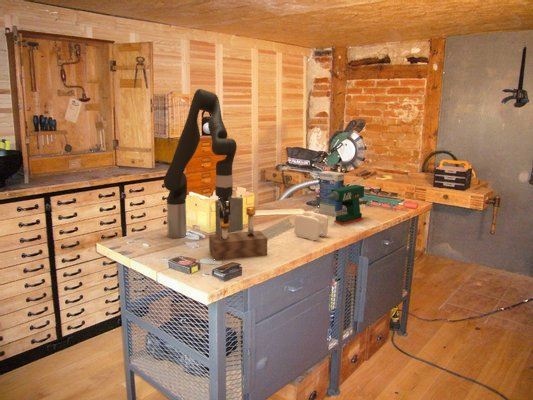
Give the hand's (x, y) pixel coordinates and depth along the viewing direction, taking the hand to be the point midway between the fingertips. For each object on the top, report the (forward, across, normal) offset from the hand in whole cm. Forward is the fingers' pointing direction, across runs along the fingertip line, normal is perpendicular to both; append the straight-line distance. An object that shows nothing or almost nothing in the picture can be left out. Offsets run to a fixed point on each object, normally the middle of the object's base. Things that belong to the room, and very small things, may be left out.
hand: (223, 220), depth 194 cm
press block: (+16, 0, +7) cm, 17 cm away
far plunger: (+10, 0, +13) cm, 16 cm away
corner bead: (+16, -27, +33) cm, 46 cm away
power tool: (+15, -33, +76) cm, 84 cm away
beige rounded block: (+16, -15, +48) cm, 53 cm away
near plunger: (+15, 0, +1) cm, 15 cm away
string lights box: (+15, -53, +78) cm, 96 cm away
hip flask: (+16, -34, +10) cm, 39 cm away
